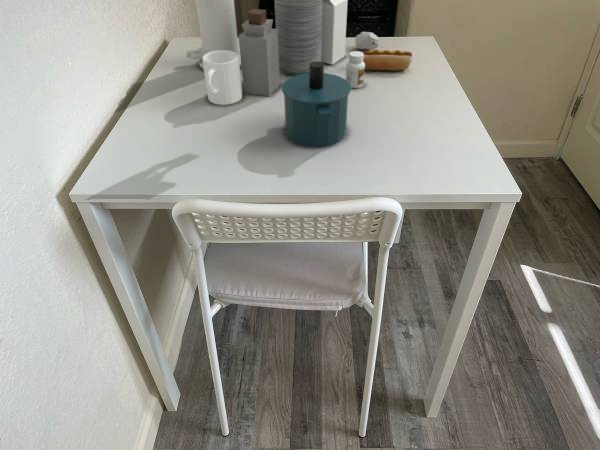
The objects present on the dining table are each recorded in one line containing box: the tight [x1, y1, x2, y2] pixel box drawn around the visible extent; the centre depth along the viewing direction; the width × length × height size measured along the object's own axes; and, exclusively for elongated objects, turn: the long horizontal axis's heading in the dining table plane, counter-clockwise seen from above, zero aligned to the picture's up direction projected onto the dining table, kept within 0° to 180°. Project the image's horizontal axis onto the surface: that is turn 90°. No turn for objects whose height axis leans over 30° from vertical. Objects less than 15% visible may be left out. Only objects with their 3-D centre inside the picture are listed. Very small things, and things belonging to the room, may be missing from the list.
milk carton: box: [321, 0, 349, 65], centre depth 121 cm, size 7×7×19 cm
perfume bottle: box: [238, 8, 281, 97], centre depth 107 cm, size 7×7×18 cm
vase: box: [274, 0, 323, 76], centre depth 114 cm, size 12×12×23 cm
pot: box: [283, 94, 349, 148], centre depth 94 cm, size 13×18×10 cm
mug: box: [202, 50, 243, 106], centre depth 105 cm, size 8×12×10 cm
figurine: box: [354, 31, 383, 51], centre depth 130 cm, size 4×8×5 cm, turn 67°
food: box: [360, 49, 413, 71], centre depth 120 cm, size 14×6×5 cm, turn 87°
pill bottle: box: [345, 50, 365, 89], centre depth 111 cm, size 4×4×8 cm
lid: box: [281, 61, 352, 105], centre depth 89 cm, size 14×14×6 cm
